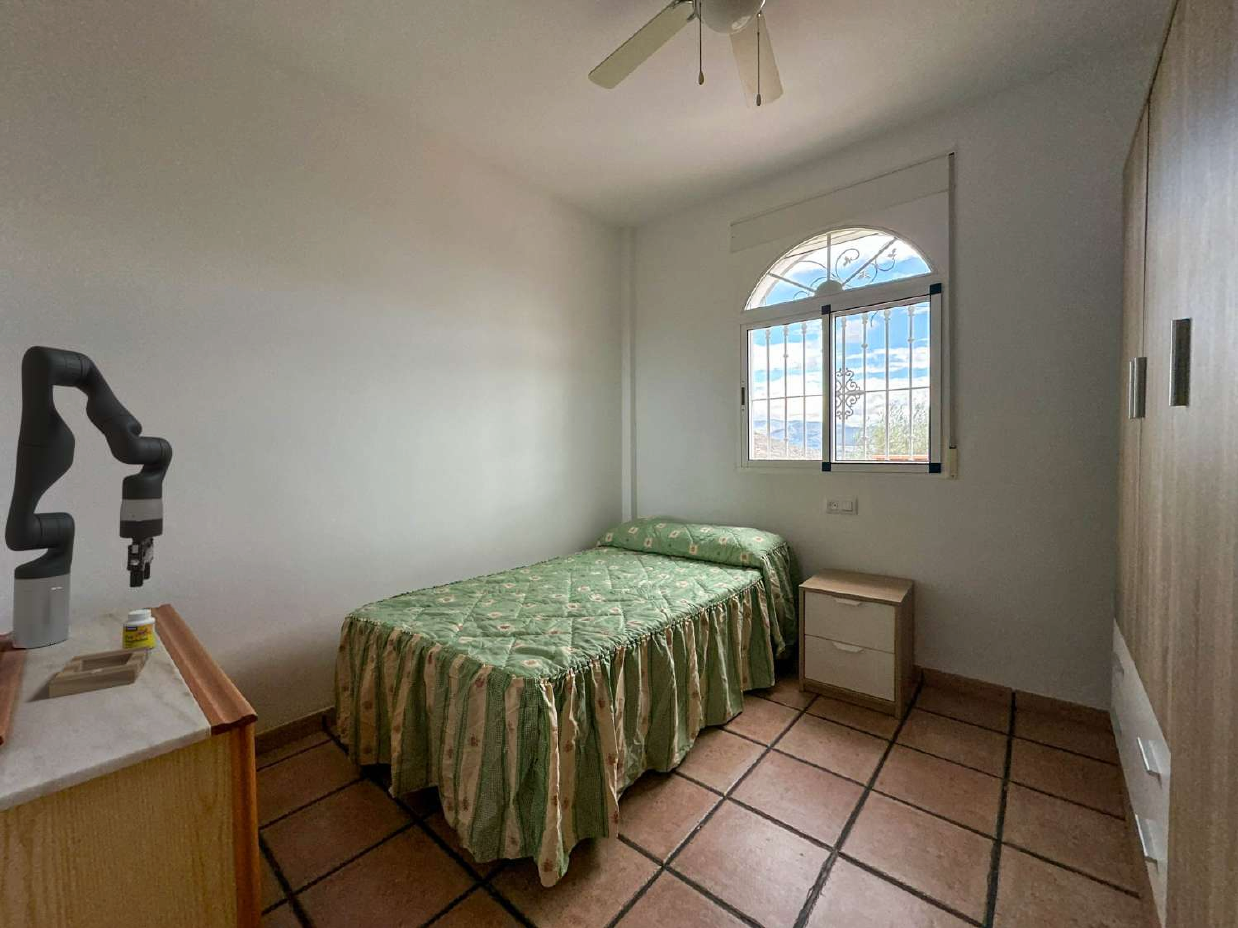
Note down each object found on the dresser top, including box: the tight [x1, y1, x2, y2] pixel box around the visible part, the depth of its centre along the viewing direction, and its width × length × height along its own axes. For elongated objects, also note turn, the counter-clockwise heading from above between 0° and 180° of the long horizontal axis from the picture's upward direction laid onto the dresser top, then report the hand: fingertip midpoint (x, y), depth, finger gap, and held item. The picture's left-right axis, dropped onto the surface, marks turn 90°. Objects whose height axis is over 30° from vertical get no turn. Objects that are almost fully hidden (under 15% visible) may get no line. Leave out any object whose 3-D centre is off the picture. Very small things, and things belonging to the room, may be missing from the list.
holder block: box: [48, 645, 150, 699], centre depth 104 cm, size 16×12×3 cm
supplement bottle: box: [121, 609, 156, 654], centre depth 117 cm, size 6×6×10 cm
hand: (140, 583), depth 117 cm, fingers open, 8 cm apart
